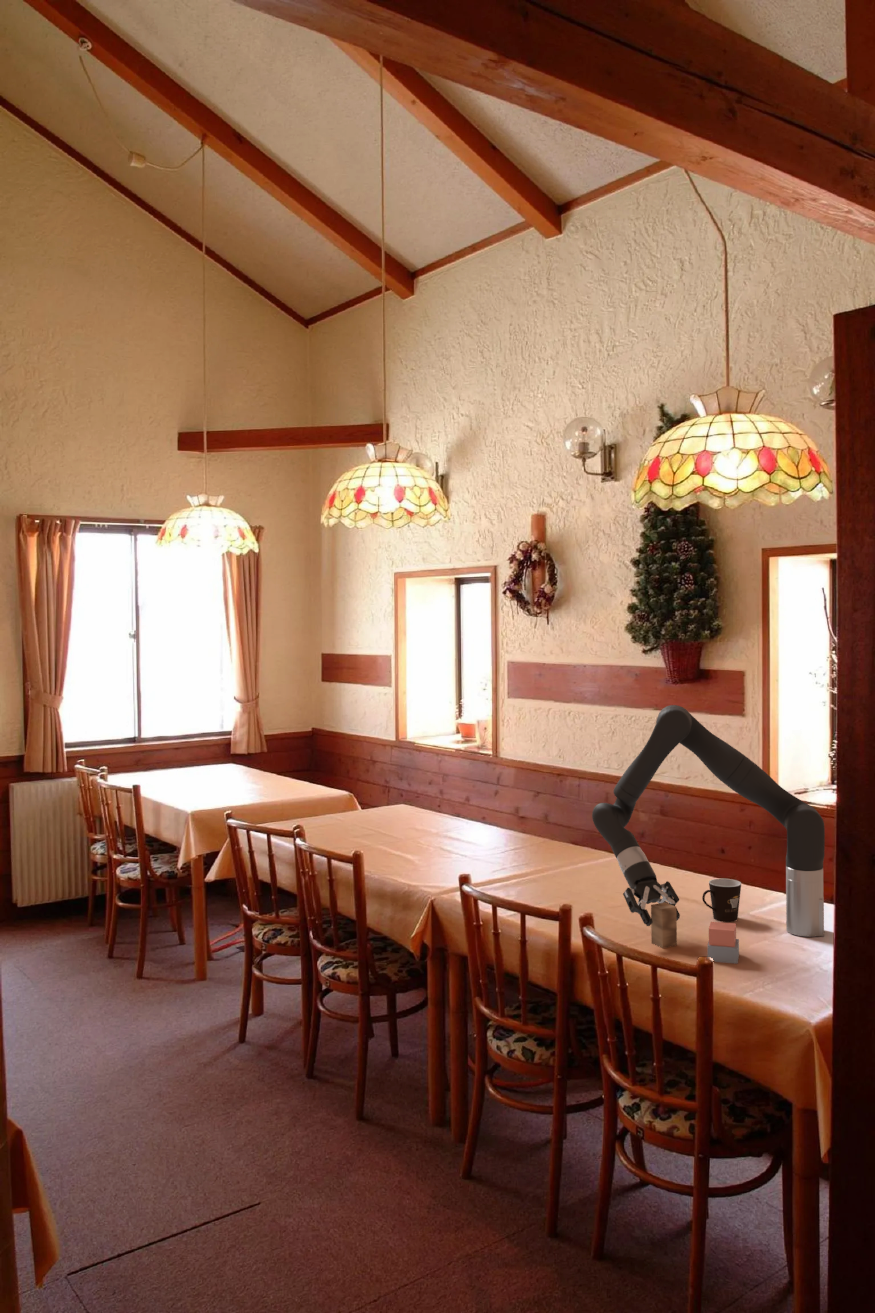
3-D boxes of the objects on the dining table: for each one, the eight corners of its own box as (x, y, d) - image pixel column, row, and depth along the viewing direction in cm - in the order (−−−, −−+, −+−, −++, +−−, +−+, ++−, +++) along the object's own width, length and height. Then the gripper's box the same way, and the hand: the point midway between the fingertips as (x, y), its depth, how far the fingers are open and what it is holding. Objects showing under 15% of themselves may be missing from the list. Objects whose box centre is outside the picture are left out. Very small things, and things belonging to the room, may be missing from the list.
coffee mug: (735, 913, 284) (735, 878, 284) (746, 922, 275) (745, 886, 275) (694, 914, 284) (694, 879, 283) (703, 924, 275) (703, 887, 275)
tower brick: (736, 939, 250) (735, 923, 250) (734, 947, 244) (734, 930, 244) (711, 937, 252) (710, 921, 252) (708, 945, 246) (708, 929, 246)
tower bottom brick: (739, 955, 250) (738, 939, 250) (737, 964, 244) (737, 948, 244) (709, 952, 253) (709, 937, 252) (707, 962, 246) (707, 945, 246)
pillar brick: (665, 940, 262) (665, 902, 262) (676, 945, 258) (676, 906, 258) (651, 943, 260) (651, 904, 260) (662, 948, 256) (662, 909, 256)
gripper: (619, 863, 263) (647, 918, 253) (663, 857, 269) (692, 910, 259) (608, 879, 268) (634, 934, 258) (651, 872, 274) (679, 925, 264)
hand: (663, 922), depth 259 cm, fingers open, 8 cm apart
